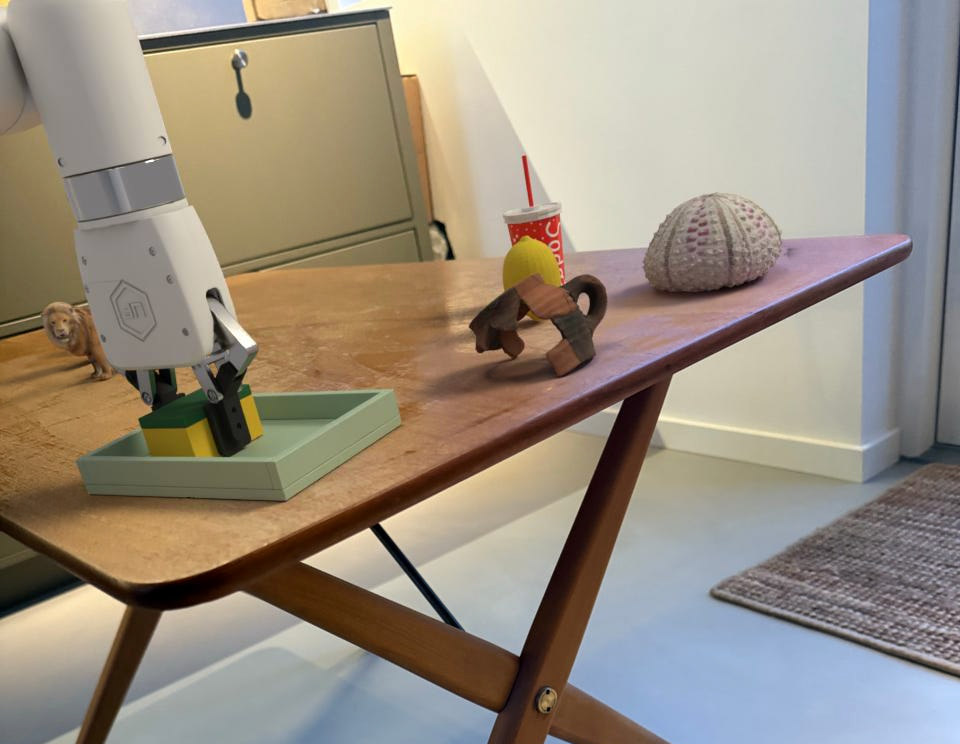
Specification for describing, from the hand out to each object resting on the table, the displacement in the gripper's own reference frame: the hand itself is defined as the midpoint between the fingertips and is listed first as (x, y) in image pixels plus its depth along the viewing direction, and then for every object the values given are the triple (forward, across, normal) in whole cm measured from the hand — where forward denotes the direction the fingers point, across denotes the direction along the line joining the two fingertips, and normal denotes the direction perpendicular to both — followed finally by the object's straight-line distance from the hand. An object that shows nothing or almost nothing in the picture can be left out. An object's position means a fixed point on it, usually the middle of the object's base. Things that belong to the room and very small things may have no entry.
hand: (209, 447), depth 79 cm
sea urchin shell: (+1, +24, +48) cm, 54 cm away
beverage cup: (+1, +6, +47) cm, 47 cm away
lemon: (+1, +10, +37) cm, 38 cm away
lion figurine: (+1, -38, +27) cm, 46 cm away
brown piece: (+1, +18, +23) cm, 29 cm away
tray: (+1, +3, +1) cm, 3 cm away
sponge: (0, 0, 0) cm, 0 cm away
